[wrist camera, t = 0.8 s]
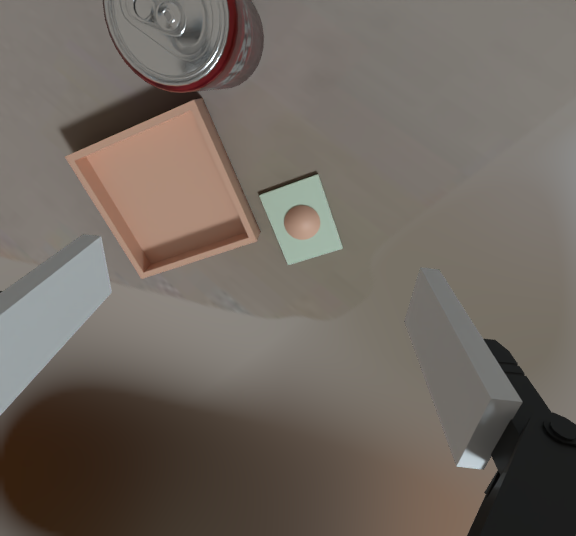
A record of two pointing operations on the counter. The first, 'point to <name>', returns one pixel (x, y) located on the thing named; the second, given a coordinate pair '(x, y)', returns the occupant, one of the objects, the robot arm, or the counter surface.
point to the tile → (301, 219)
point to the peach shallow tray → (167, 190)
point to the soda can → (187, 41)
